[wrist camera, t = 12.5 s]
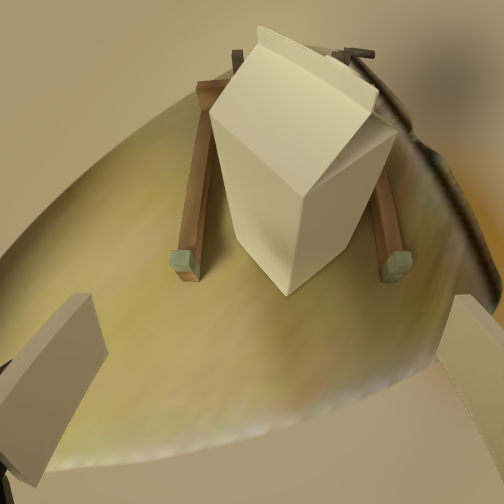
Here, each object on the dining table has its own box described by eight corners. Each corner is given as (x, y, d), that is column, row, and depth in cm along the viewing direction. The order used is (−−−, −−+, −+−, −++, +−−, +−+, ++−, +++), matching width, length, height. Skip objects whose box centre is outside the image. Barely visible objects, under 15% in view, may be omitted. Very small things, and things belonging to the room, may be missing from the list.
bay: (182, 281, 28) (138, 221, 18) (207, 115, 36) (191, 42, 26) (395, 281, 26) (452, 224, 17) (362, 117, 35) (379, 46, 25)
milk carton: (286, 298, 27) (311, 127, 9) (235, 239, 29) (194, 49, 12) (345, 249, 28) (422, 70, 11) (294, 197, 31) (309, 11, 13)
